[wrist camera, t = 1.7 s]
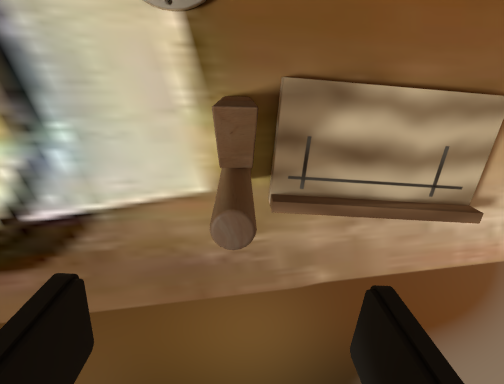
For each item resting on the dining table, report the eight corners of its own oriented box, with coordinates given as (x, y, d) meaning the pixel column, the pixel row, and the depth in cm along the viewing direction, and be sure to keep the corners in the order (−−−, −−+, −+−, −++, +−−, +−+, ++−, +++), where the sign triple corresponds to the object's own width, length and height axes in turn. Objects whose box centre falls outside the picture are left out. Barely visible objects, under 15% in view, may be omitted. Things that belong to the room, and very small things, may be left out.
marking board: (281, 77, 34) (287, 76, 30) (498, 95, 36) (532, 97, 32) (268, 198, 40) (271, 212, 36) (455, 209, 42) (479, 223, 37)
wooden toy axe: (251, 96, 35) (262, 111, 18) (249, 178, 39) (257, 253, 22) (221, 96, 34) (204, 110, 18) (223, 178, 38) (209, 254, 22)
